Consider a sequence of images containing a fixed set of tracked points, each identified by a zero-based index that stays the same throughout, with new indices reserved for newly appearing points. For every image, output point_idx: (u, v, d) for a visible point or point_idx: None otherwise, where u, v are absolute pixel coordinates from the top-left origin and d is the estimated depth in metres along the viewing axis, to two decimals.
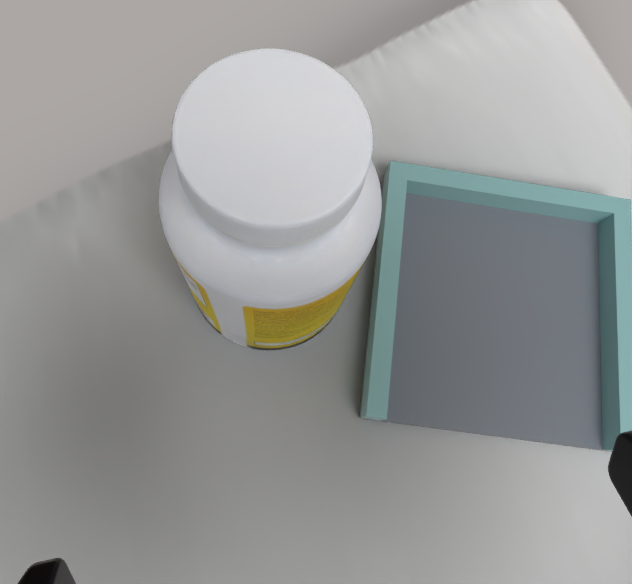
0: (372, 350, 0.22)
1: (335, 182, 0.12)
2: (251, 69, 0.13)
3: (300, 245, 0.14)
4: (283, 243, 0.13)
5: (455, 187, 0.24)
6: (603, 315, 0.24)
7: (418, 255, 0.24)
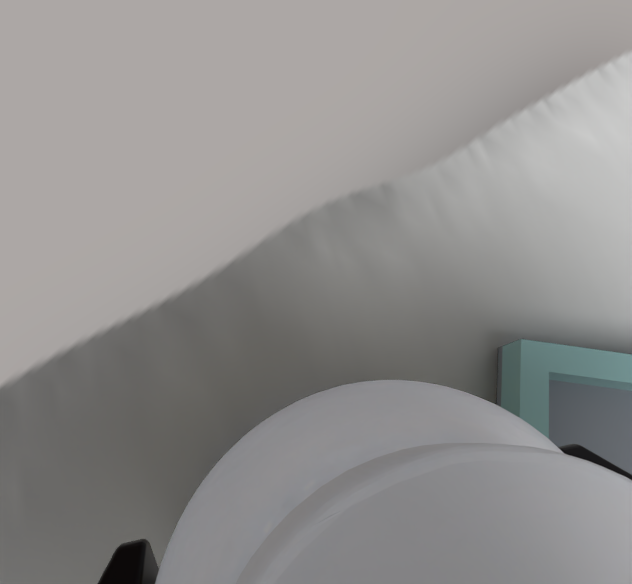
0: None
1: None
2: (434, 543, 0.04)
3: None
4: None
5: (624, 380, 0.15)
6: None
7: None
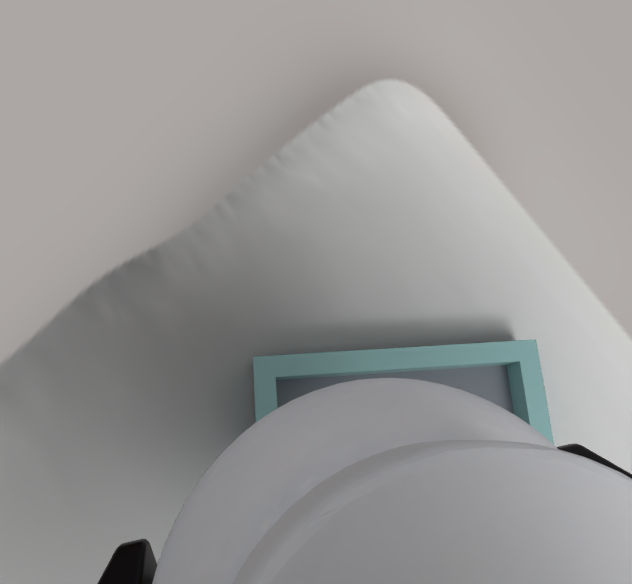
0: None
1: None
2: (432, 538, 0.04)
3: None
4: None
5: (334, 372, 0.21)
6: None
7: None
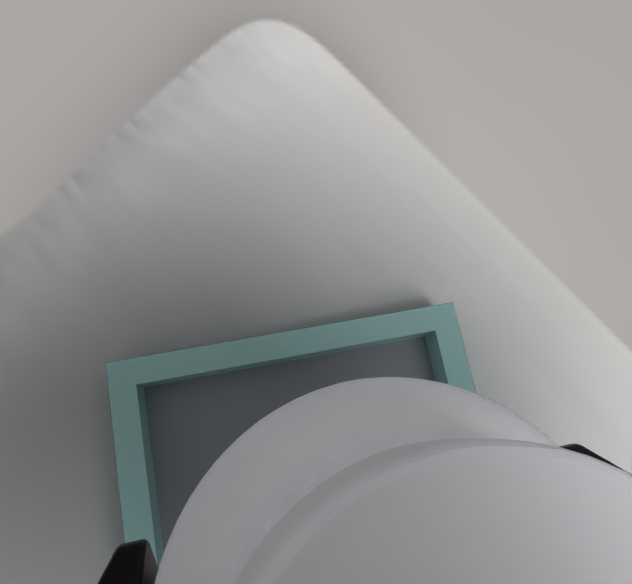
0: None
1: None
2: (436, 536, 0.04)
3: None
4: None
5: (209, 370, 0.17)
6: None
7: (189, 475, 0.17)
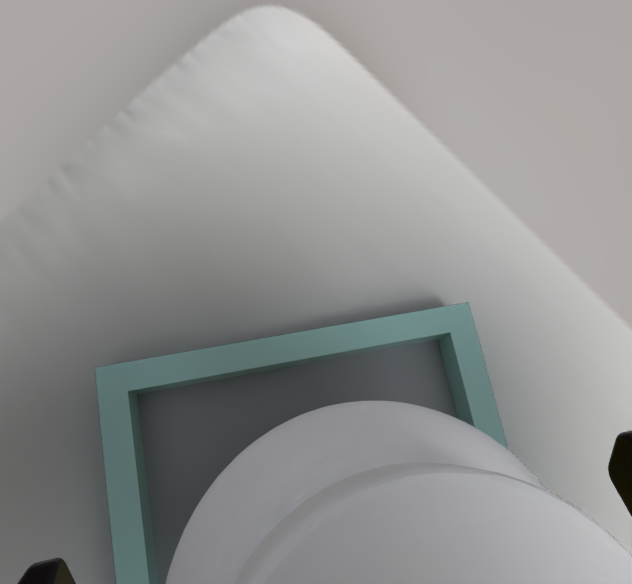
0: None
1: None
2: (393, 547, 0.05)
3: None
4: None
5: (207, 375, 0.16)
6: None
7: (185, 488, 0.16)
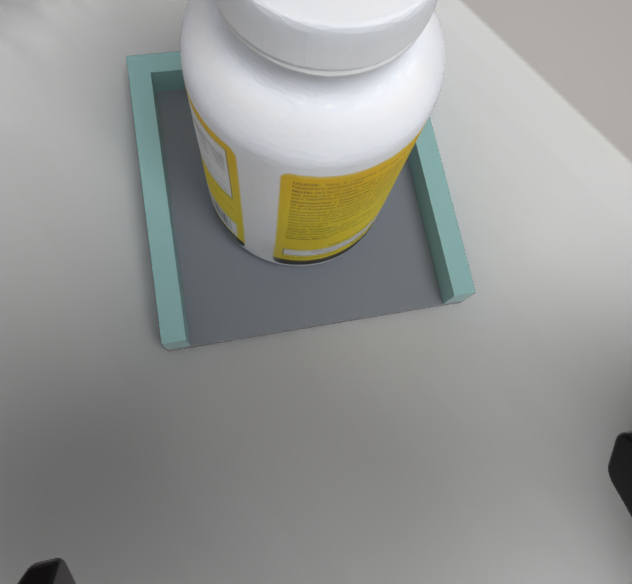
0: (153, 270, 0.19)
1: None
2: None
3: (355, 86, 0.12)
4: (341, 66, 0.10)
5: None
6: (411, 163, 0.22)
7: (192, 155, 0.21)
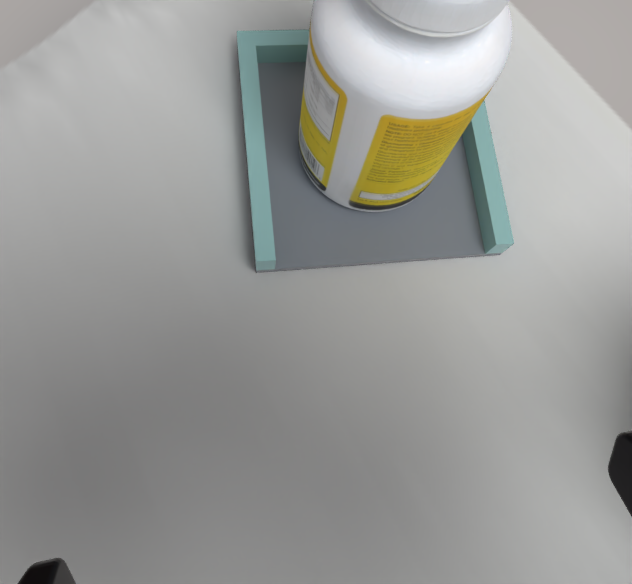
0: (251, 203, 0.23)
1: None
2: None
3: (448, 48, 0.16)
4: (444, 29, 0.15)
5: (303, 44, 0.25)
6: (464, 136, 0.26)
7: (283, 116, 0.26)
